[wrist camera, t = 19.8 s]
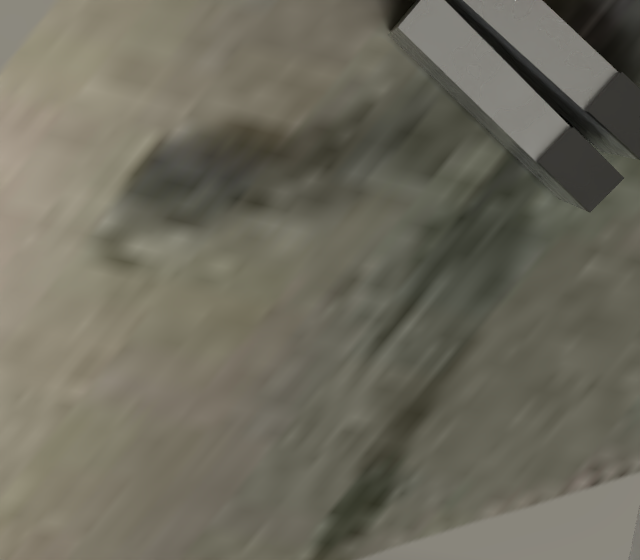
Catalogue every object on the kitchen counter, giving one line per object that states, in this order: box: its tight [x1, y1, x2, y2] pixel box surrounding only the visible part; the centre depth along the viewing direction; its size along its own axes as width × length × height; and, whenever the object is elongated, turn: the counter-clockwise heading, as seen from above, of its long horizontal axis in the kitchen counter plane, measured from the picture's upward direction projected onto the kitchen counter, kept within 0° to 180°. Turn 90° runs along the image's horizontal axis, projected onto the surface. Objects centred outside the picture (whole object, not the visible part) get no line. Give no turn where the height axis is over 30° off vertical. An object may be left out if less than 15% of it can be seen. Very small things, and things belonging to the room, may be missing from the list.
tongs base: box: [445, 0, 640, 160], centre depth 32 cm, size 4×18×5 cm, turn 52°
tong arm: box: [388, 0, 624, 212], centre depth 33 cm, size 2×14×4 cm, turn 49°
